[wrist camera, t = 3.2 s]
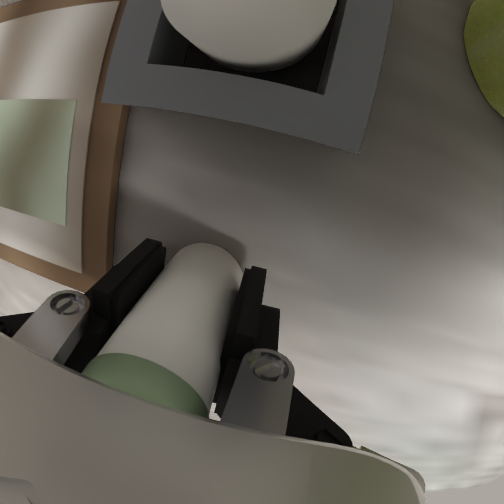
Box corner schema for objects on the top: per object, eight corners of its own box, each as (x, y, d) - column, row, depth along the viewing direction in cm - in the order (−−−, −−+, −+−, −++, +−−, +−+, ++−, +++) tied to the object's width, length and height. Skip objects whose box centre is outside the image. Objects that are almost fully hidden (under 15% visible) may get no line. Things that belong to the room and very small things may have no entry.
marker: (253, 253, 12) (197, 466, 4) (235, 321, 13) (184, 516, 5) (172, 232, 12) (26, 396, 4) (164, 301, 13) (62, 469, 5)
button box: (379, -23, 7) (402, -57, 5) (340, 148, 10) (358, 155, 7) (190, -55, 7) (166, -91, 5) (142, 105, 10) (100, 102, 7)
